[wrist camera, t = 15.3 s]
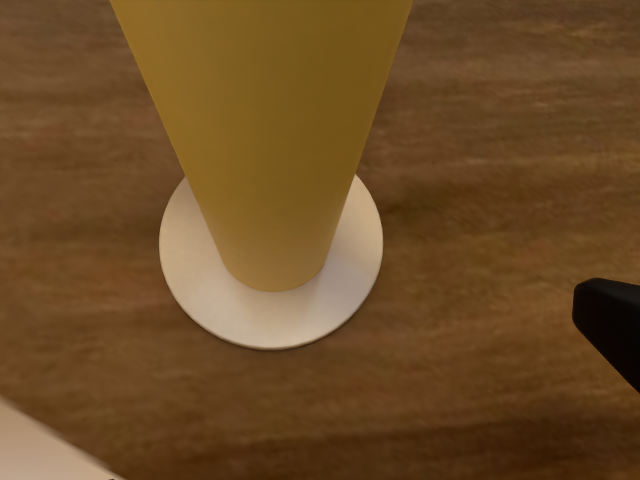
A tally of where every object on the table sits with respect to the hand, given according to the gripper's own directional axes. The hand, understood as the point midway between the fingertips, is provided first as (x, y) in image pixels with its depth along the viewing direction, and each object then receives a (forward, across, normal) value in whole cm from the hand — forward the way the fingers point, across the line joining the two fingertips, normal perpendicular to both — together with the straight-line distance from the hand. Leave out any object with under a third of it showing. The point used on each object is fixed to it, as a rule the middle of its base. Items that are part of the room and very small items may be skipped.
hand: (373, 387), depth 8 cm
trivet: (+9, 0, +1) cm, 9 cm away
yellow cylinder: (+9, 0, +1) cm, 9 cm away
